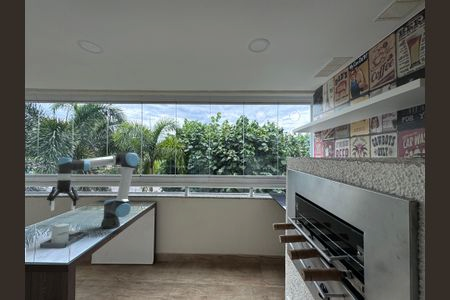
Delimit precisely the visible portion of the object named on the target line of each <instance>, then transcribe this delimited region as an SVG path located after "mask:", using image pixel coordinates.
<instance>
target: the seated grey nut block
mask: <svg viewBox="0 0 450 300" xmlns="http://www.w3.org/2000/svg"><path fill="white" fill-rule="evenodd" d="M69 231H70V232H69V237H78V236H79V235H78V233H79V232H80V231H79V232H76V231H75V230H69Z"/></svg>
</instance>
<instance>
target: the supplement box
mask: <svg viewBox="0 0 450 300" xmlns="http://www.w3.org/2000/svg"><path fill="white" fill-rule="evenodd" d="M51 226H52V229H51V238H52V240H51V243H67V242H69V241H68V237H69V231H70V224H67V223H60V224H59V223H58V224H55V225H51Z"/></svg>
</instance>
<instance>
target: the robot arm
mask: <svg viewBox="0 0 450 300" xmlns="http://www.w3.org/2000/svg"><path fill="white" fill-rule="evenodd" d="M139 163H140V158H139V156H138V154H137V153H136V152H119V153H115V154H114V153H113V154H111V155H109V156H100V157H98V156H97V157H90V158H80V159H72V157H58V166H57V183H56V184H57V185H56V186H55V185H54V186H52V188H51V190H50V192H49V195H48V196H47V197H46V201H48V202H49V206H50V212H53V211H55V199H56V198H57V197H58V196H59V195H60V194H66V195H67V196H68V197H70V199H71V212H74V211H75V210H76V207H77V202H78V201H79V200H80V197H79V194H78V192H77V189H76V186H71V185H72V183H71V182H72V181H71V179H72V172H74V171H75V172H79V171H80V172H81V171H82V172H85V171H87V172H88V171H89V170H90V168H97V167H98V168H99V167H106V166H120V168H121V173H120V179H119V180H120V181H119V185H118V190H117V194H116V195H117V196H116V198H115V199H107V200H104V203H103V217H102V221H101V224H100V228H101V229H104V230H106V229H107V230H108V229H109V230H111V229H117V228H119V227H121V221H120V218H126V217H127V216H128V215H129V214H130V213H131V205H130V200H129V194H130V189H131V183H132V179H133V177H132V176H133V172H134V170H136V167H137V165H139Z"/></svg>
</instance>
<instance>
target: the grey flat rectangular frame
mask: <svg viewBox="0 0 450 300" xmlns="http://www.w3.org/2000/svg"><path fill="white" fill-rule="evenodd" d="M70 231H71V230H69V232H70ZM76 232H79V233H78V237H68V242H67V243H51V240H52V237H51V238H49V239H47V240H45V241H43V242H41V243H40V244H39V248H43V249H44V248H45V249H46V248H47V249H48V248H50V249H51V248H52V249H53V248H54V249H57V248H58V249H60V248H61V249H62V248H63V249H66V248H68V247H70V246H71V245H73V244H75V243H76V242H78V241H80V240H81V239H83V238H85V237H87V236H88V235H89V231H80V230H79V231H76Z"/></svg>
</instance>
